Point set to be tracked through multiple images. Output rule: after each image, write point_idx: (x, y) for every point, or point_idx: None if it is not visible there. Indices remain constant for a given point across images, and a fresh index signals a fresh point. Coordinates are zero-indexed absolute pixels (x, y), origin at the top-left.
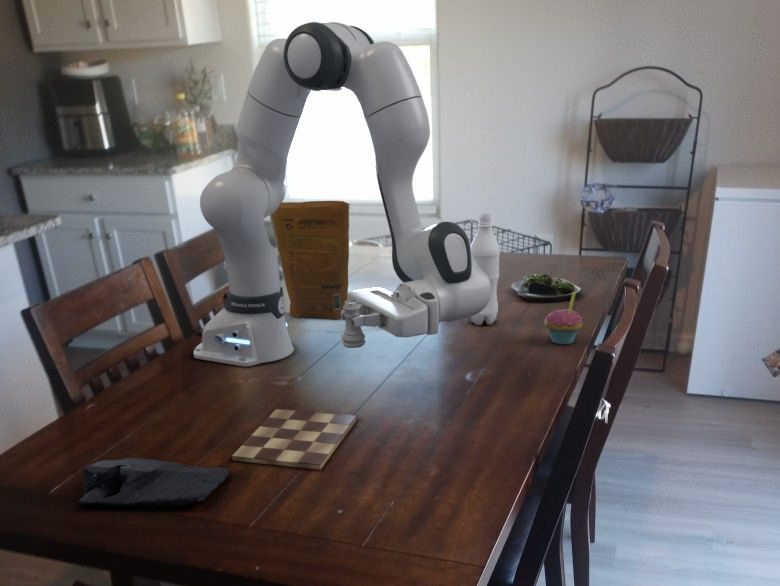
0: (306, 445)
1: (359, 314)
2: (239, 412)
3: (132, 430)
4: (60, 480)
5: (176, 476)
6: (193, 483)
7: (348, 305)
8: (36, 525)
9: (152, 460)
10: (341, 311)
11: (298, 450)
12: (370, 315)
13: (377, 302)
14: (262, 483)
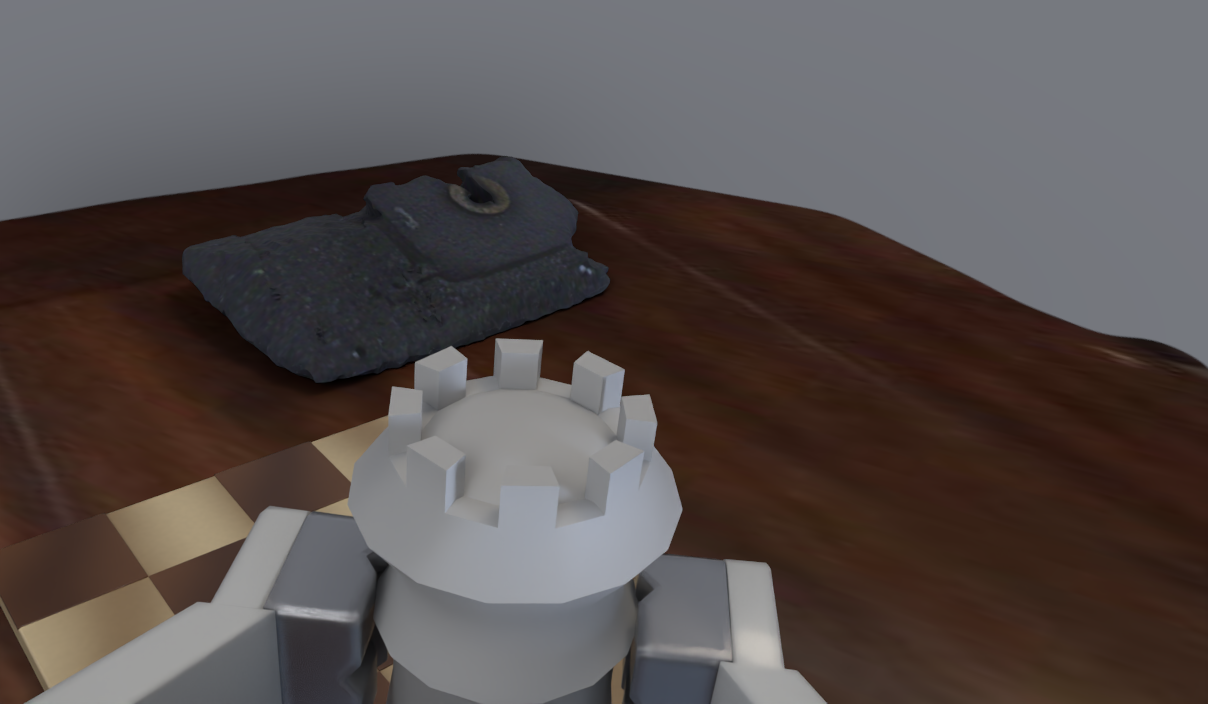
0: None
1: (357, 611)
2: (850, 621)
3: (853, 359)
4: (623, 219)
5: (309, 231)
6: (239, 244)
7: (491, 391)
8: (446, 165)
9: (523, 279)
10: (753, 565)
11: (193, 562)
12: (92, 669)
13: None
14: (147, 420)
